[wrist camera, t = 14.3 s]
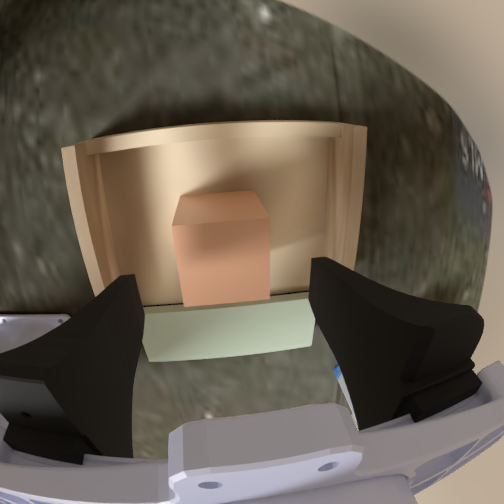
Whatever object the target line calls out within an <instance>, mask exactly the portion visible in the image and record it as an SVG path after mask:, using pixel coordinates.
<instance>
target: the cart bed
mask: <svg viewBox="0 0 504 504" xmlns="http://www.w3.org/2000/svg"><path fill="white" fill-rule="evenodd" d="M366 143H367V127H366V126H360V125H354V124H347V123H341V122H332V121H308V120H254V121H229V122H213V123H199V124H188V125H178V126H169V127H161V128H153V129H146V130H139V131H132V132H126V133H120V134H114V135H108V136H103V137H98V138H93V139H89V140H86V141H82V142H79V143H76V144H73V145H70V146H67V147H64V148H61V150H62V158H63V165H64V171H65V177H66V183H67V189H68V194H69V199H70V204H71V209H72V214H73V219H74V223H75V227H76V232H77V236H78V240H79V244H80V247H81V251H82V255H83V259H84V262H85V266H86V269H87V272H88V276H89V279H90V282H91V286H92V289H93V292H94V295H95V297H96V296H97V295H98V294H100V293H101V292H102V291H103V290H104V289H105V288H106V287H107V286H108V285H109V284H111V283H112V282H113V281H114V280H115V279H116V278H118V277H119V276H120V275H129V274H135V277H136V282H137V286H138V290H139V294H140V298H141V301H142V305H143V306H146V305H161V304H175V303H183V297H182V291H181V285H180V279H179V273H178V267H177V261H176V254H175V247H174V240H173V233H172V223H173V219H174V215H175V212H176V208H177V205H178V201H179V198H180V196H186V195H197V194H209V193H221V192H235V191H251V190H254V191H255V193H256V195H257V196H258V198H259V200H260V201H261V203H262V205H263V207H264V208H265V210H266V212H267V214H268V215H269V217H270V295H272V294H281V293H290V292H298V291H307V290H309V284H310V271H311V258H315V257H328V258H330V259H332V260H334V261H336V262H338V263H340V264H342V265H344V266H345V267H347V268H349V269H351V270H353V271H354V267H355V260H356V253H357V245H358V238H359V229H360V220H361V211H362V201H363V190H364V177H365V162H366Z"/></svg>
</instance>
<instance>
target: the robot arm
mask: <svg viewBox="0 0 504 504" xmlns="http://www.w3.org/2000/svg"><path fill="white" fill-rule="evenodd" d="M308 300H309V303H310V306H311V309H312V312H313V314H314V317H315V319H316V321H317V323H318V325H319V327H320V329H321V331H322V333H323V335H324V337H325V339H326V340H327V342H328V344H329V346H330V348H331V350H332V352H333V354H334V356H335V358H336V360H337V362H338V364H339V367H340V370H341V372H342V375H343V378H344V381H345V384H346V387H347V390H348V393H349V396H350V399H351V402H352V406H353V409H354V413H355V417H356V420H357V424H358V429H359V431H358V430H357V428H356V426H355V424H354V421H353V419H352V417H351V415H350V412H349V410H348V409H347V408H345V407H343V406H340V405H338V404H336V403H321V404H310V405H305V406H299V407H294V408H288V409H283V410H277V411H270V412H263V413H256V414H248V415H240V416H231V417H220V418H208V419H202V420H198V421H193V422H187V423H185V424H183V425H181V426H180V427H178V428H177V429H175V430H174V431H172V432H171V433H169V443H168V458H166V459H135V458H133V449H132V395H133V384H134V377H135V372H136V367H137V362H138V358H139V353H140V349H141V344H142V339H143V334H144V323H145V313H144V309H143V305H142V301H141V298H140V294H139V290H138V286H137V282H136V277H135V274H129V275H120V276H119V277H118V278H116V279H115V280H114V281H113V282H112V283H111V284H109V285H108V286H107V287H106V288H105V289H104V290H103V291H102V292H101V293H100V294H98V295H97V296H96V297H95V298H94V299H93V300H92V301H91V302H89V303H88V304H87V305H86V306H85V307H83V308H82V309H81V310H80V311H79V312H77V313H76V314H75V315H74V316H72V317H70V316H69V315H67V314H38V315H3V314H0V504H418V503H417V501H416V499H415V497H414V495H415V494H417V493H419V492H420V491H422V490H424V489H426V488H428V487H429V486H431V485H433V484H435V483H436V482H438V481H440V480H441V479H443V478H445V477H446V476H448V475H450V474H451V473H453V472H454V471H456V470H457V469H459V468H460V467H462V466H463V465H465V464H466V463H467V462H469V461H471V460H472V459H474V458H475V457H476V456H478V455H479V454H480V453H482V452H483V451H485V450H486V449H488V448H489V447H490V446H492V445H493V444H495V443H496V442H497V441H499V439H501V438H502V436H503V435H504V365H503V364H502V363H501V362H500V361H496V362H495V363H493V364H491V365H489V366H487V367H485V368H483V369H482V370H481V371H480V372H479V373H478V374H477V375H476V374H475V373H474V371H473V370H472V369H473V368H474V366H475V364H474V362H473V361H472V360H471V359H470V358H471V356H472V354H473V352H474V350H475V348H476V347H477V345H478V343H479V341H480V338H481V336H482V333H483V329H484V319H483V318H482V317H481V316H480V315H479V313H478V312H477V311H476V310H474V309H473V308H472V307H471V306H470V305H459V304H448V303H442V302H436V301H431V300H426V299H422V298H418V297H415V296H411V295H408V294H405V293H401V292H399V291H396V290H393V289H391V288H388V287H386V286H383V285H381V284H379V283H377V282H374V281H372V280H370V279H368V278H366V277H364V276H362V275H360V274H358V273H356V272H355V271H353V270H351V269H349V268H347V267H345V266H344V265H342V264H340V263H338V262H336V261H334V260H332V259H330V258H328V257H315V258H311V271H310V284H309V295H308ZM60 319H62V320H63V321H62V320H60Z"/></svg>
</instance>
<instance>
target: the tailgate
mask: <svg viewBox="0 0 504 504" xmlns="http://www.w3.org/2000/svg"><path fill="white" fill-rule="evenodd" d="M308 295H309V292H302V293H294V294H285V295H277V296H270V299H265V300H256V301H246V302H236V303H225V304H214V305H202V306H190V307H184V304H182V305H168V306H154V307H143V309H144V313H145V323H144V334H143V339H142V343H143V346H144V348H145V351H146V354H147V357H148V360H149V362H161V361H181V360H196V359H209V358H220V357H231V356H240V355H249V354H258V353H266V352H273V351H281V350H288V349H294V348H301V347H307V346H311V345H312V338H313V331H314V324H315V317H314V314H313V312H312V309H311V306H310V303H309V300H308Z"/></svg>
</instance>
